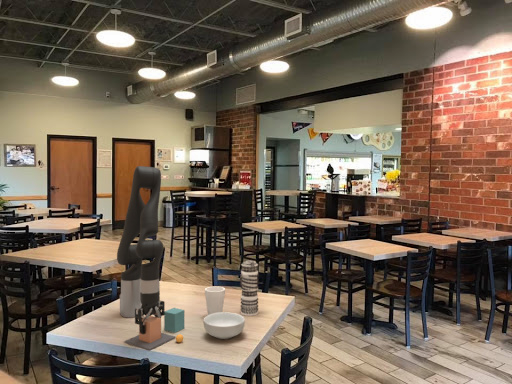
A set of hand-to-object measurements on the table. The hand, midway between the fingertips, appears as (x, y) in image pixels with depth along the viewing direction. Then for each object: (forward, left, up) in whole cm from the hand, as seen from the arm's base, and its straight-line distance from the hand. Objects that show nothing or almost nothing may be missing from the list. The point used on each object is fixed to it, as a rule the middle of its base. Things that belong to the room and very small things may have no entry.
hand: (150, 330), depth 164 cm
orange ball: (+11, +5, -4) cm, 13 cm away
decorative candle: (+16, +49, -4) cm, 52 cm away
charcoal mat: (0, 0, -4) cm, 4 cm away
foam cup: (+5, +36, -4) cm, 37 cm away
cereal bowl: (+22, +20, -4) cm, 30 cm away
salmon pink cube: (0, 0, -3) cm, 3 cm away
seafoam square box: (0, +14, -4) cm, 15 cm away
